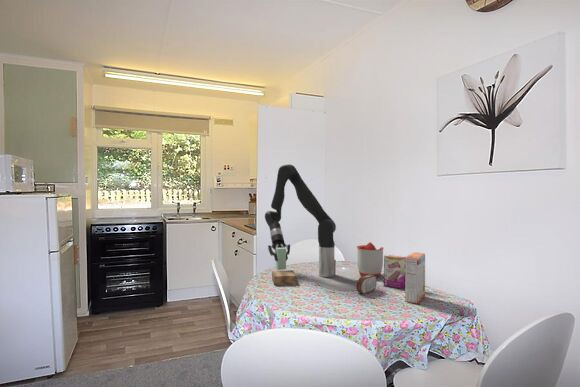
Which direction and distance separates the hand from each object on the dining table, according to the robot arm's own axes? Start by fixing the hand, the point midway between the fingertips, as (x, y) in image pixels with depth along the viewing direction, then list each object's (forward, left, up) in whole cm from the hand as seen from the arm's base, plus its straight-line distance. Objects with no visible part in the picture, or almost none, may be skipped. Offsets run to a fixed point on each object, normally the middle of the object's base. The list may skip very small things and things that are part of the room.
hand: (281, 260), depth 195 cm
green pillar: (0, -2, -5) cm, 6 cm away
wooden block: (+1, +10, -10) cm, 14 cm away
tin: (-35, +38, -10) cm, 53 cm away
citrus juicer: (-53, +9, -10) cm, 54 cm away
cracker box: (-52, +53, -10) cm, 75 cm away
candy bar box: (-54, +33, -10) cm, 64 cm away
